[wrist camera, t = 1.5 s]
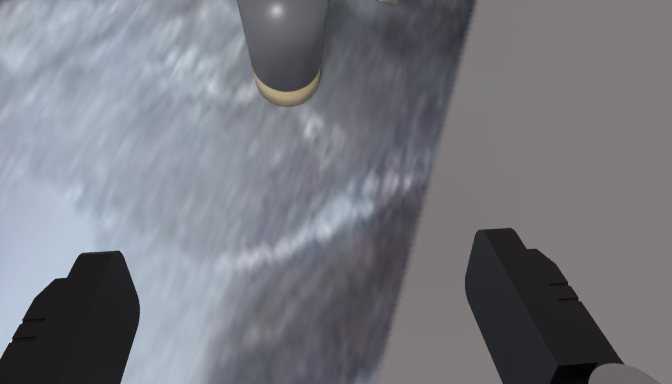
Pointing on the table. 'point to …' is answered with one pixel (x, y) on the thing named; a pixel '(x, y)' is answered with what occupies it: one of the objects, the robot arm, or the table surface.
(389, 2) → the walled box
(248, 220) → the table surface
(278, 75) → the dark grey cylinder
